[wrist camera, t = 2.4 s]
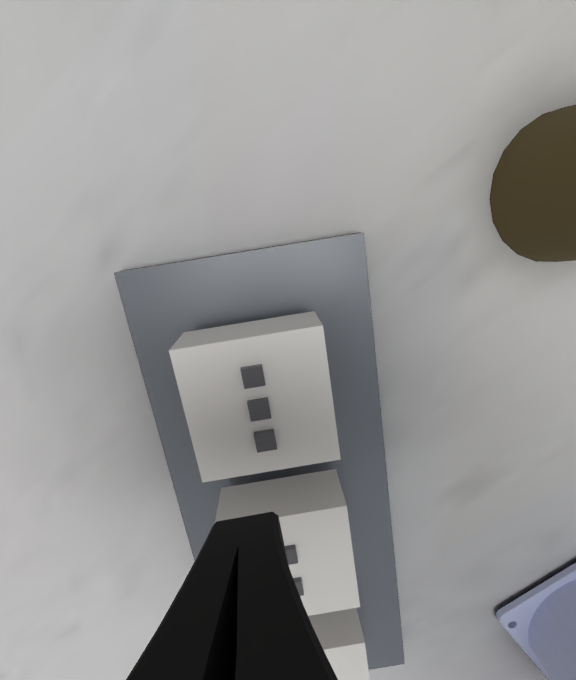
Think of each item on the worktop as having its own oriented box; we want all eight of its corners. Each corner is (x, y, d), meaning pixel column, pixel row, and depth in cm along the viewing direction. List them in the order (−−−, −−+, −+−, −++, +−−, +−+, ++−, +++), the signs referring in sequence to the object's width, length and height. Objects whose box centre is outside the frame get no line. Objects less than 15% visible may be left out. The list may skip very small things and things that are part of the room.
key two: (348, 560, 18) (361, 611, 15) (242, 578, 18) (239, 632, 15) (336, 468, 16) (347, 509, 14) (221, 488, 16) (213, 532, 14)
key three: (330, 427, 16) (341, 462, 13) (211, 447, 16) (201, 486, 13) (314, 311, 14) (323, 326, 12) (183, 332, 14) (167, 352, 12)
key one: (363, 666, 20) (376, 727, 17) (267, 683, 20) (268, 746, 17) (353, 592, 18) (366, 647, 16) (250, 610, 18) (247, 667, 16)
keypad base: (399, 648, 23) (414, 694, 20) (233, 677, 22) (229, 726, 20) (358, 232, 16) (373, 232, 14) (121, 270, 16) (97, 277, 14)
